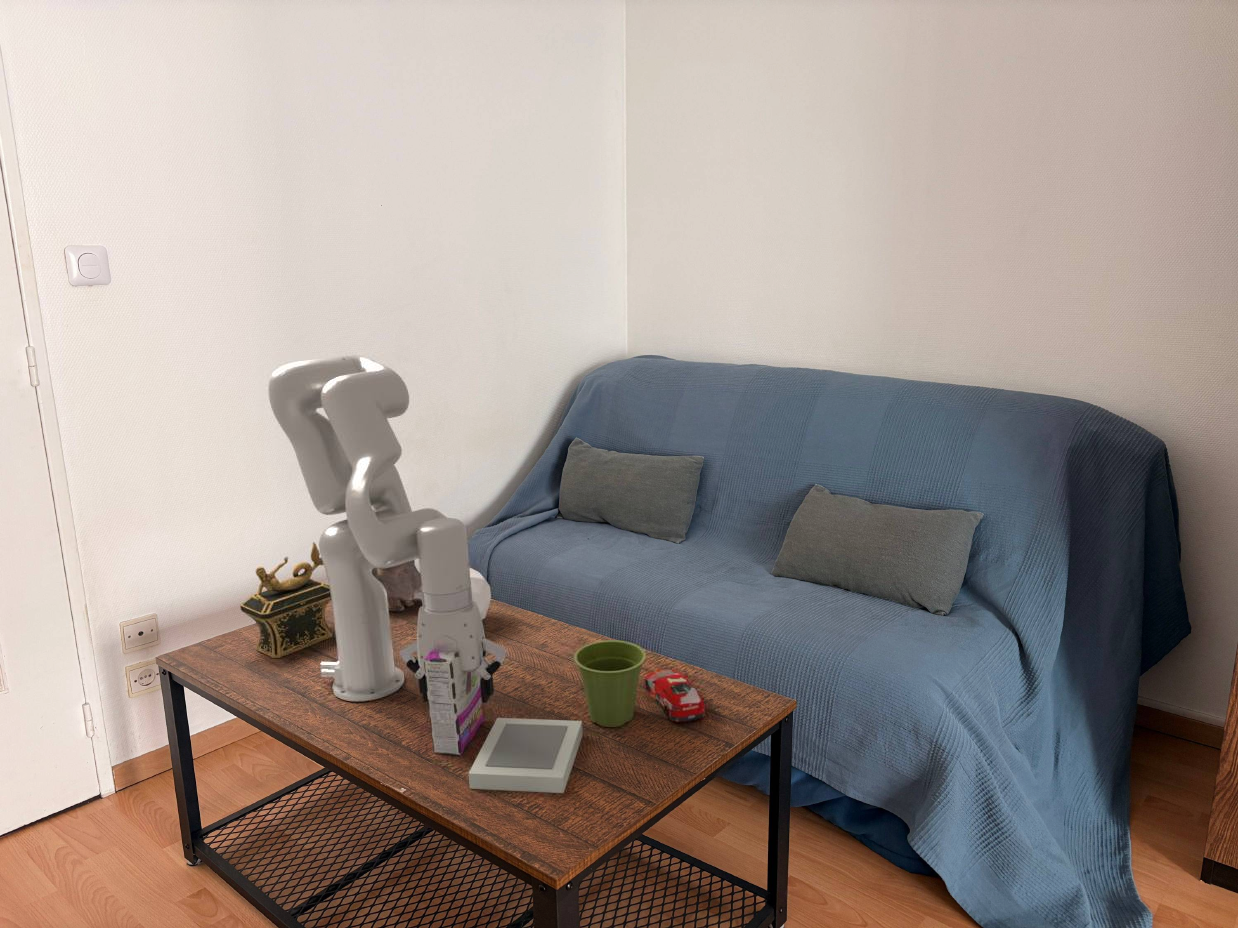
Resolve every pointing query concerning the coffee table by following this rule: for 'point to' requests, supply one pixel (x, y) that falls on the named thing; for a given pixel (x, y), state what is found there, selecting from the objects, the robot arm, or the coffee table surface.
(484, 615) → the geodesic sphere
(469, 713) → the candy bar box
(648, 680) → the race car
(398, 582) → the clay figurine
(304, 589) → the decorative box
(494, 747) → the picture frame
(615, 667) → the plant pot
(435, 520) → the robot arm
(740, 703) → the coffee table surface
